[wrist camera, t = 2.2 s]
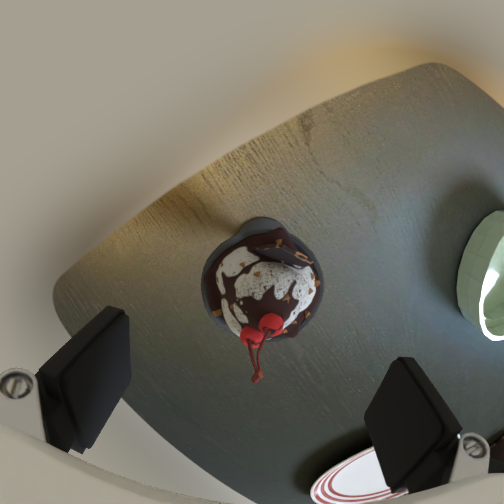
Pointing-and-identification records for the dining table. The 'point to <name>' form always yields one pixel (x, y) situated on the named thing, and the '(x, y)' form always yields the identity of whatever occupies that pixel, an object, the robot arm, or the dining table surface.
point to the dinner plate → (353, 481)
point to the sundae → (262, 285)
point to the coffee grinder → (498, 450)
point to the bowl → (484, 277)
